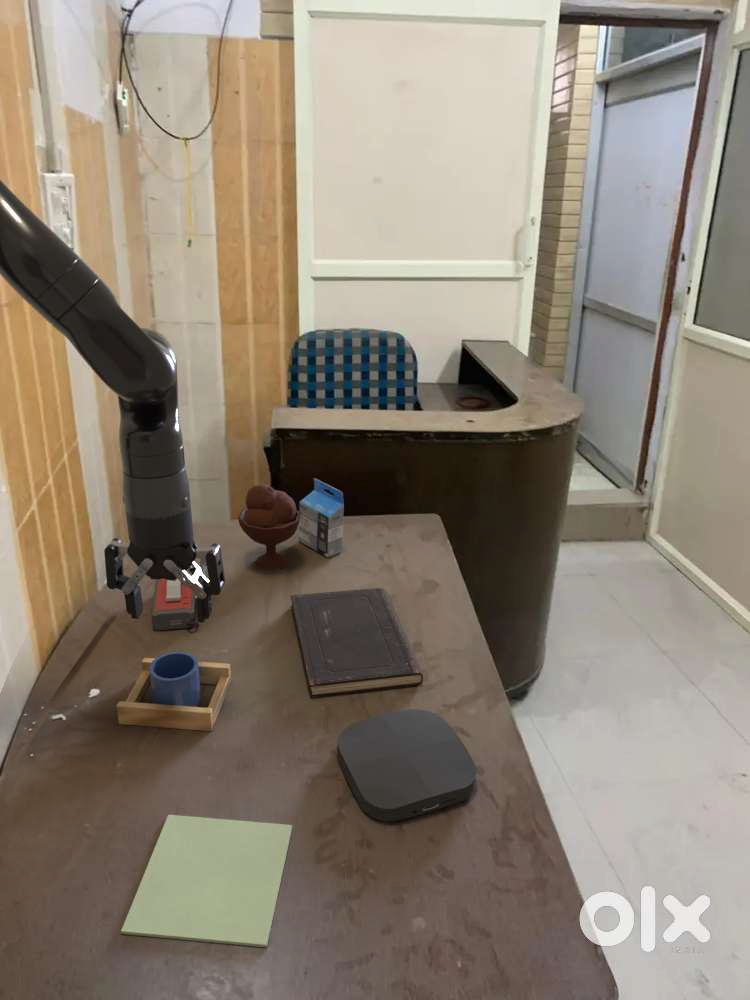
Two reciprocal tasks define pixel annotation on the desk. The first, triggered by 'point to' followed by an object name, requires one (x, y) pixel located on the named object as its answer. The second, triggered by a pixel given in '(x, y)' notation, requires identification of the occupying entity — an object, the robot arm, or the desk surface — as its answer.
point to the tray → (173, 714)
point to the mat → (211, 881)
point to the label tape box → (322, 520)
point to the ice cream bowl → (269, 522)
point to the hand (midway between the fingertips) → (170, 617)
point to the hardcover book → (352, 643)
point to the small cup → (175, 679)
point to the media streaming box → (405, 764)
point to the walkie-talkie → (174, 604)
